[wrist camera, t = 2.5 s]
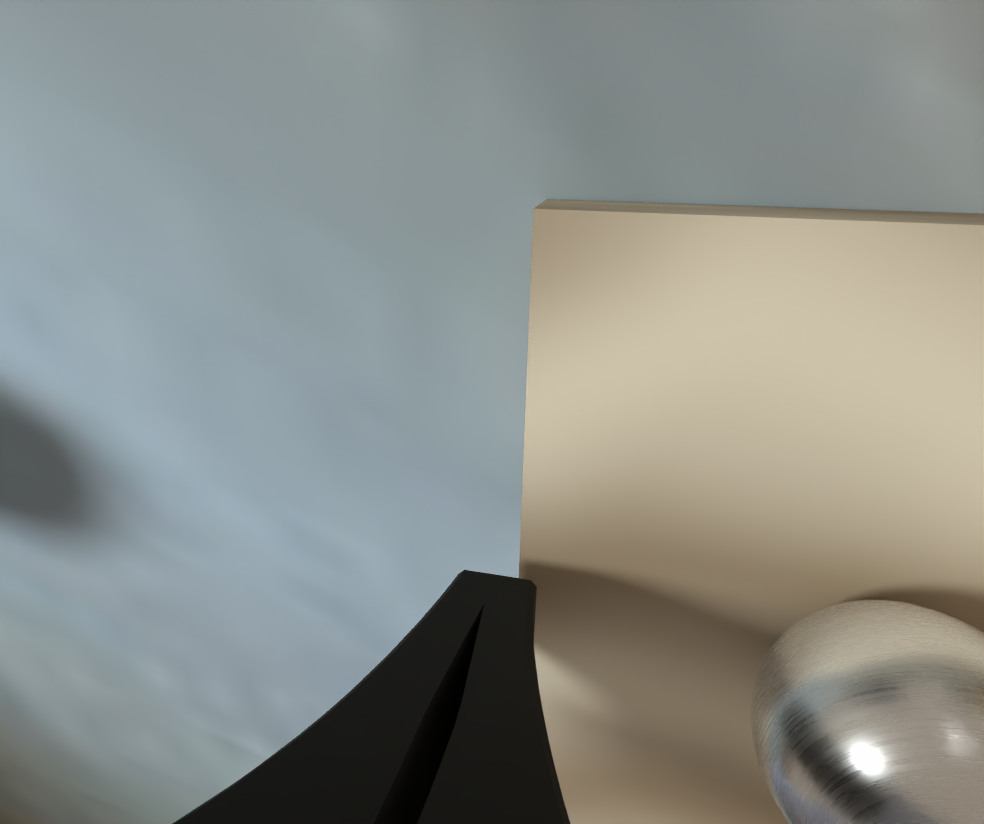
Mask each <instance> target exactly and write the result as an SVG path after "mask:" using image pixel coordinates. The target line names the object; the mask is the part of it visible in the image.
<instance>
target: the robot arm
mask: <svg viewBox="0 0 984 824" xmlns="http://www.w3.org/2000/svg"><path fill="white" fill-rule="evenodd" d="M536 591H537V586H536V585H535V584H534V583H533V582H532V581H531V580H526V579H520V578H513V577H507V576H500V575H494V574H487V573H481V572H474V571H468V570H464V571H462V572H461V573H459V574H458V575H457V577H456V578H455V579H454V581H453V582H452V583H451V584H450V586H449V587H448V588H447V589H446V591H445V592H444V593H443V594H442V596H441V597H440V598H439V599H438V600H437V602H436V603H435V604H434V605H433V606H432V607H431V609H430V610H429V611H428V612H427V613H426V614H425V616H424V617H423V618H422V619H421V620H420V621H419V622H418V623H417V625H416V626H415V627H414V628H413V629H412V630H411V631H410V632H409V633H408V634H407V635H406V636H405V637H404V638H403V640H402V641H401V642H400V643H399V644H398V645H397V646H396V647H395V648H394V649H393V650H392V651H391V652H390V653H389V654H388V655H387V656H386V657H385V658H384V659H383V660H382V661H381V662H380V663H379V664H378V665H377V666H376V667H375V668H374V669H373V670H372V671H371V672H370V673H369V674H368V675H367V676H366V677H365V678H364V679H363V680H362V681H361V682H360V683H358V684H357V685H356V686H355V687H354V688H353V689H352V690H351V691H350V692H349V693H348V694H347V695H346V696H345V697H343V698H342V699H341V700H340V701H339V702H338V703H337V704H336V705H334V706H333V707H332V708H331V709H330V710H329V711H327V712H326V713H325V714H324V715H323V716H322V717H320V718H319V719H318V720H317V721H316V722H314V723H313V724H312V725H311V726H309V727H308V728H307V729H306V730H305V731H303V732H302V733H301V734H300V735H298V736H297V737H296V738H295V739H293V740H292V741H291V742H289V743H288V744H287V745H285V746H284V747H283V748H281V749H280V750H279V751H278V752H276V753H275V754H274V755H272V756H271V757H270V758H268V759H267V760H266V761H264V762H263V763H262V764H260V765H259V766H258V767H256V768H255V769H254V770H252V771H251V772H249V773H248V774H247V775H245V776H244V777H242V778H241V779H240V780H238V781H237V782H235V783H234V784H232V785H231V786H229V787H228V788H226V789H225V790H223V791H222V792H220V793H219V794H217V795H216V796H214V797H213V798H211V799H210V800H208V801H207V802H205V803H203V804H202V805H200V806H199V807H197V808H196V809H194V810H193V811H191V812H190V813H188V814H187V815H185V816H183V817H182V818H180V819H179V820H177V821H176V822H174V823H173V824H570V820H569V817H568V814H567V810H566V807H565V803H564V800H563V796H562V792H561V788H560V785H559V781H558V777H557V773H556V769H555V765H554V761H553V757H552V753H551V748H550V744H549V739H548V734H547V729H546V724H545V719H544V714H543V709H542V703H541V697H540V692H539V685H538V677H537V669H536V662H535V653H534V628H535V610H536Z"/></svg>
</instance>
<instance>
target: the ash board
mask: <svg viewBox="0 0 984 824" xmlns="http://www.w3.org/2000/svg"><path fill="white" fill-rule="evenodd" d="M519 578H520V579H526V580H531V581H532V582H533V583H534V584H535V585H536V586H537V591H536V610H535V628H534V653H535V662H536V669H537V677H538V685H539V692H540V697H541V703H542V709H543V714H544V719H545V724H546V729H547V734H548V739H549V744H550V748H551V753H552V757H553V761H554V765H555V769H556V773H557V777H558V781H559V785H560V788H561V792H562V796H563V800H564V803H565V807H566V810H567V814H568V817H569V820H570V824H789V823H788V821H787V820H786V818H785V817H784V815H783V814H782V812H781V810H780V809H779V807H778V805H777V804H776V802H775V800H774V799H773V797H772V795H771V793H770V791H769V788H768V786H767V784H766V781H765V779H764V776H763V774H762V772H761V769H760V767H759V763H758V759H757V756H756V752H755V748H754V743H753V737H752V728H751V702H752V695H753V690H754V685H755V681H756V677H757V675H758V672H759V669H760V667H761V665H762V663H763V661H764V659H765V657H766V655H767V653H768V652H769V650H770V648H771V647H772V646H773V645H774V644H775V642H776V641H777V640H778V639H779V638H780V637H781V635H782V634H783V633H784V632H785V631H786V630H788V629H789V628H790V627H791V626H792V625H794V624H795V623H797V622H798V621H799V620H801V619H803V618H804V617H806V616H808V615H810V614H812V613H814V612H816V611H818V610H821V609H823V608H826V607H829V606H832V605H836V604H839V603H845V602H850V601H860V600H889V601H899V602H905V603H910V604H915V605H919V606H922V607H926V608H929V609H932V610H936V611H939V612H942V613H945V614H947V615H949V616H952V617H954V618H956V619H959V620H961V621H963V622H965V623H967V624H969V625H971V626H973V627H975V628H976V629H978V630H980V631H982V632H983V633H984V214H972V213H942V212H912V211H883V210H853V209H823V208H793V207H763V206H734V205H704V204H674V203H644V202H615V201H585V200H555V199H547V200H545V201H544V202H543V203H541V204H540V205H538V206H537V207H535V208H534V212H533V237H532V262H531V287H530V312H529V337H528V362H527V387H526V412H525V437H524V462H523V487H522V512H521V537H520V562H519Z"/></svg>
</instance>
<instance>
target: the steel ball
mask: <svg viewBox="0 0 984 824" xmlns="http://www.w3.org/2000/svg"><path fill="white" fill-rule="evenodd" d="M751 728H752V737H753V743H754V748H755V752H756V756H757V759H758V763H759V767H760V769H761V772H762V774H763V776H764V779H765V781H766V784H767V786H768V788H769V791H770V793H771V795H772V797H773V799H774V800H775V802H776V804H777V805H778V807H779V809H780V810H781V812H782V814H783V815H784V817H785V818H786V820H787V821H788V823H789V824H984V633H983V632H982V631H980V630H978V629H976V628H975V627H973V626H971V625H969V624H967V623H965V622H963V621H961V620H959V619H956V618H954V617H952V616H949V615H947V614H945V613H942V612H939V611H936V610H932V609H929V608H926V607H922V606H919V605H915V604H910V603H905V602H899V601H889V600H860V601H850V602H845V603H839V604H836V605H832V606H829V607H826V608H823V609H821V610H818V611H816V612H814V613H812V614H810V615H808V616H806V617H804V618H803V619H801V620H799V621H798V622H797V623H795V624H794V625H792V626H791V627H790V628H789V629H788V630H786V631H785V632H784V633H783V634H782V635H781V637H780V638H779V639H778V640H777V641H776V642H775V644H774V645H773V646H772V647H771V648H770V650H769V652H768V653H767V655H766V657H765V659H764V661H763V663H762V665H761V667H760V669H759V672H758V675H757V677H756V681H755V685H754V690H753V695H752V702H751Z"/></svg>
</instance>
